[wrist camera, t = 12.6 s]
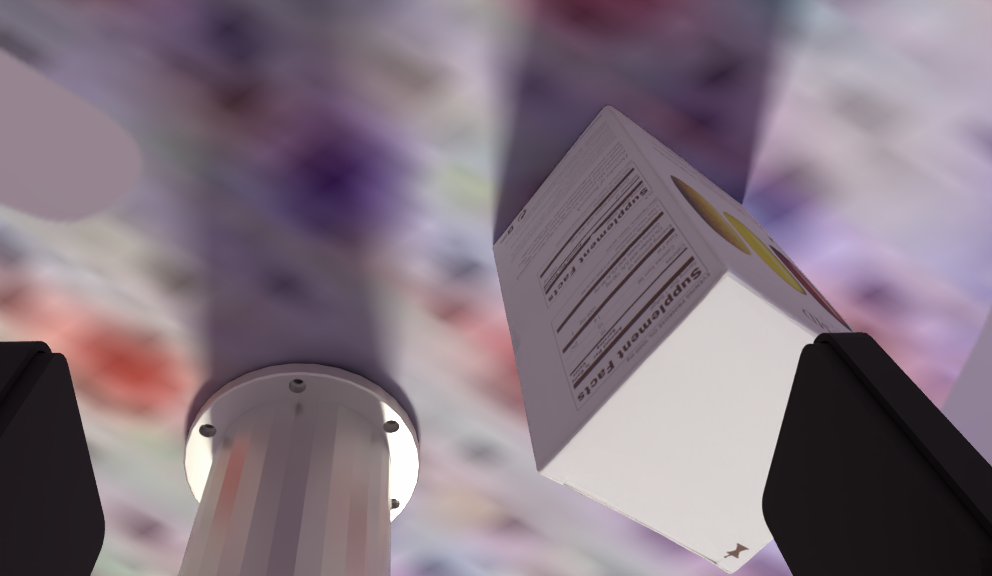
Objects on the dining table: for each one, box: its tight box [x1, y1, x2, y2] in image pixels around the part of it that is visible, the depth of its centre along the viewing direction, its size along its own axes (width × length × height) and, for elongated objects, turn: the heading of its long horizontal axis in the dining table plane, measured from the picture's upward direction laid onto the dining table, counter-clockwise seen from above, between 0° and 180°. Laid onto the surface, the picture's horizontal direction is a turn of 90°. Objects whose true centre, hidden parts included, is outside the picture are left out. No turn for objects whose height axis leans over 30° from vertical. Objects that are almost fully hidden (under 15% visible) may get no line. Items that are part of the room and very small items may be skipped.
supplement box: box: [493, 105, 855, 574], centre depth 34 cm, size 10×9×17 cm
